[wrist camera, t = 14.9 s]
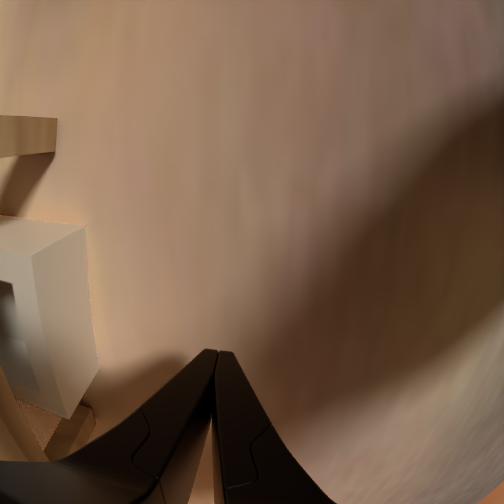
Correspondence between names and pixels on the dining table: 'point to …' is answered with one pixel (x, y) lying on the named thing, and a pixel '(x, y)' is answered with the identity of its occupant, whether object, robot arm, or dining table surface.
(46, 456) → the oak shelf
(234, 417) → the robot arm
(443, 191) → the dining table surface
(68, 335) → the beige tray
